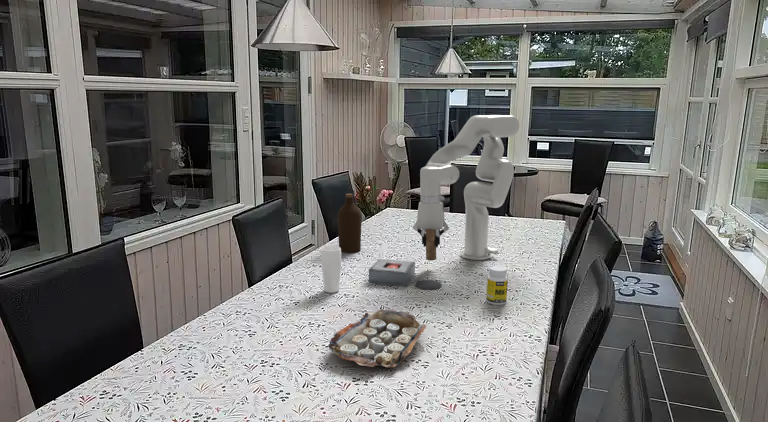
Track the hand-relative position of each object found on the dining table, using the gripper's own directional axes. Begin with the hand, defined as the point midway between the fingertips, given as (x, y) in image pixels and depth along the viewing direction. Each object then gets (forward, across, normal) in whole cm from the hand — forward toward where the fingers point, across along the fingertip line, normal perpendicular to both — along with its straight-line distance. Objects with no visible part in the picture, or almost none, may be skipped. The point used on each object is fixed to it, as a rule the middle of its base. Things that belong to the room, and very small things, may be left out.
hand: (431, 245), depth 203 cm
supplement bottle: (+9, -26, +29) cm, 40 cm away
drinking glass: (+8, +29, +33) cm, 45 cm away
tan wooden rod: (+5, 0, 0) cm, 5 cm away
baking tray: (+7, +2, +71) cm, 71 cm away
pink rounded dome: (+7, +12, +15) cm, 20 cm away
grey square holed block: (+9, +12, +15) cm, 21 cm away
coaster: (+9, -2, +19) cm, 21 cm away
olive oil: (+9, +39, -18) cm, 44 cm away
